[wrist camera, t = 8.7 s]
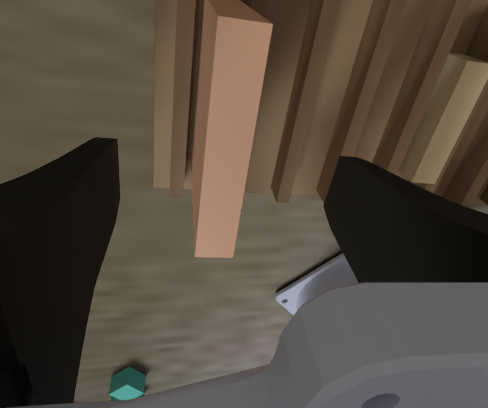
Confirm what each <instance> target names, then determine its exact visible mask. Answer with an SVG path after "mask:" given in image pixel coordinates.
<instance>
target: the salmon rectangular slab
mask: <svg viewBox="0 0 488 408" xmlns="http://www.w3.org/2000/svg"><path fill="white" fill-rule="evenodd" d="M272 28H273V24H272V23H271V22H270V21H268V20H267V19H265V18H264V17H263V16H261V15H260V14H258V13H257V12H256V11H254V10H253V9H251V8H250V7H249V6H247V5H246V4H245V3H243V2H242V1H240V0H203V3H202V17H201V31H200V44H199V58H198V71H197V85H196V98H195V112H194V126H193V139H192V153H191V179H192V202H193V226H194V249H195V257H227V258H233V254H234V248H235V242H236V236H237V231H238V225H239V219H240V213H241V207H242V202H243V196H244V190H245V184H246V178H247V173H248V167H249V161H250V155H251V149H252V144H253V138H254V132H255V126H256V120H257V115H258V109H259V103H260V97H261V91H262V86H263V80H264V74H265V68H266V62H267V57H268V51H269V45H270V39H271V33H272Z"/></svg>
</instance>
